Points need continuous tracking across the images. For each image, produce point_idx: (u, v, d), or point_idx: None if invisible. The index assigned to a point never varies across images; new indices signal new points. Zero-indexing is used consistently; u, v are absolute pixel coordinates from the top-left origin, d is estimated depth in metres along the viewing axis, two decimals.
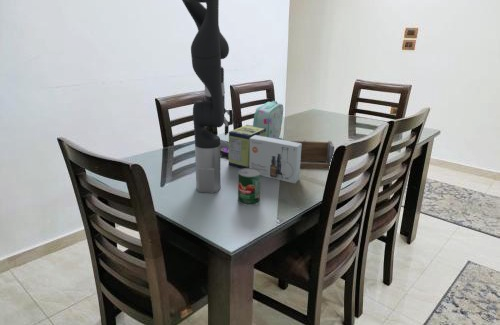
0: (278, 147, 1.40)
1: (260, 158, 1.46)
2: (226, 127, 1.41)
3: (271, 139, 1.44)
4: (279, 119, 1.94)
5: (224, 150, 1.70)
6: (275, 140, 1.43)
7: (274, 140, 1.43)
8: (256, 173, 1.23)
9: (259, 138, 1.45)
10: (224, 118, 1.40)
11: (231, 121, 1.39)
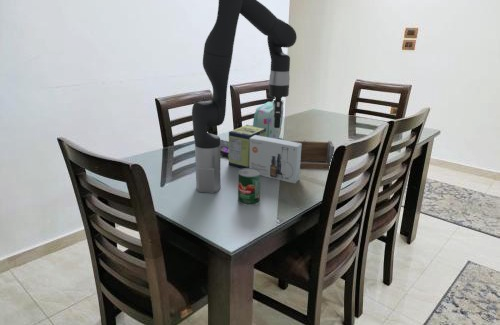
0: (278, 147, 1.40)
1: (260, 158, 1.46)
2: None
3: (271, 139, 1.44)
4: None
5: (224, 150, 1.70)
6: (275, 140, 1.43)
7: (274, 140, 1.43)
8: (256, 173, 1.23)
9: (259, 138, 1.45)
10: None
11: None
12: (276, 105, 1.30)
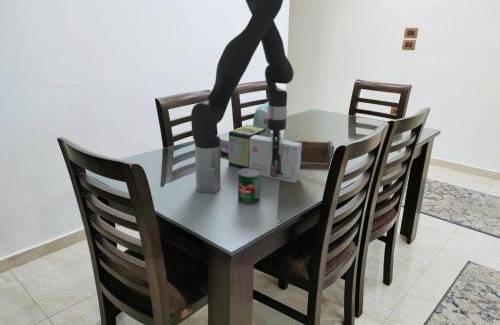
0: None
1: (261, 158, 1.46)
2: None
3: (271, 139, 1.44)
4: None
5: (224, 150, 1.70)
6: None
7: None
8: (256, 173, 1.23)
9: (259, 138, 1.45)
10: None
11: None
12: (274, 140, 1.36)
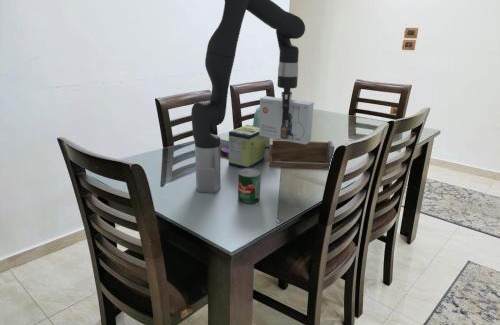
0: (289, 106, 1.36)
1: (271, 119, 1.41)
2: None
3: None
4: None
5: (224, 150, 1.71)
6: None
7: None
8: (256, 173, 1.23)
9: (269, 98, 1.41)
10: None
11: None
12: (284, 98, 1.32)
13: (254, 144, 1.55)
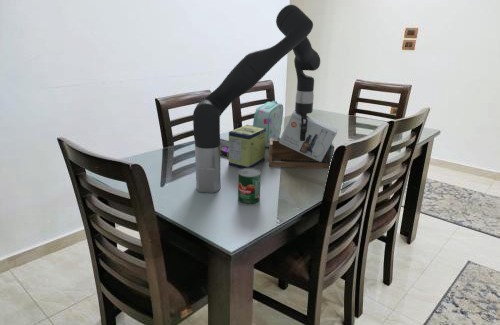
0: (318, 128, 1.53)
1: (296, 133, 1.56)
2: None
3: (311, 118, 1.55)
4: (279, 119, 1.94)
5: (224, 149, 1.71)
6: (315, 121, 1.54)
7: (314, 120, 1.55)
8: (256, 173, 1.23)
9: (300, 115, 1.54)
10: None
11: None
12: (303, 122, 1.50)
13: (254, 144, 1.55)
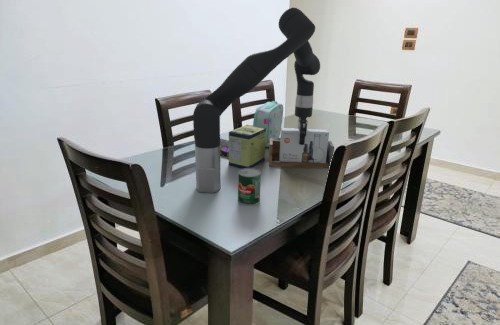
0: (311, 134, 1.56)
1: (292, 148, 1.58)
2: None
3: None
4: (279, 119, 1.94)
5: (224, 149, 1.71)
6: None
7: None
8: (256, 173, 1.23)
9: (290, 129, 1.57)
10: None
11: None
12: (302, 126, 1.51)
13: (254, 144, 1.55)
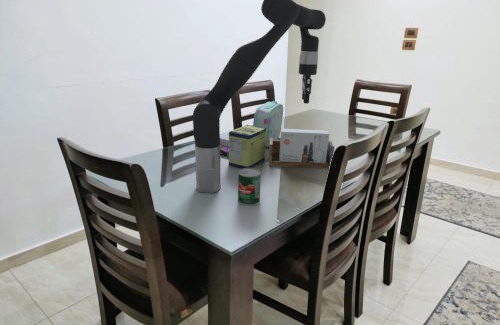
0: (311, 136, 1.55)
1: (292, 149, 1.58)
2: None
3: (300, 130, 1.57)
4: (279, 119, 1.94)
5: (224, 149, 1.71)
6: (305, 131, 1.57)
7: (304, 130, 1.57)
8: (256, 173, 1.23)
9: (289, 131, 1.56)
10: None
11: None
12: (307, 82, 1.44)
13: (254, 144, 1.55)
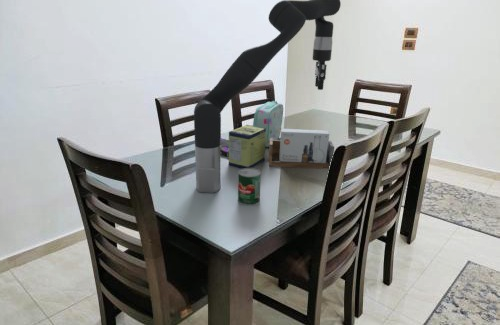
0: (311, 136, 1.55)
1: (292, 149, 1.58)
2: None
3: (300, 130, 1.57)
4: (279, 119, 1.94)
5: (224, 149, 1.71)
6: (305, 131, 1.57)
7: (304, 130, 1.57)
8: (256, 173, 1.23)
9: (290, 131, 1.56)
10: None
11: None
12: (321, 67, 1.44)
13: (254, 144, 1.55)
